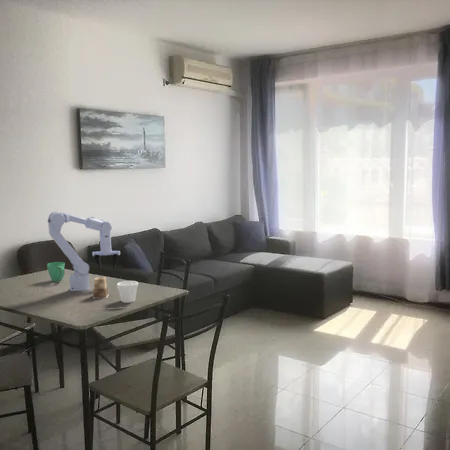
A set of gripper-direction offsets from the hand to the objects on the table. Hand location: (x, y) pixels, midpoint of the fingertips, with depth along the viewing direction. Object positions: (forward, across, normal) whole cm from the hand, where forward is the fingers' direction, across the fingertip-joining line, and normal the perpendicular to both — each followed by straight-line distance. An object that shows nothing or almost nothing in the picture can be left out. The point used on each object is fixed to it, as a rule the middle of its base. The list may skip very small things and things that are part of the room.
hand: (107, 268), depth 275 cm
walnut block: (+9, +1, -23) cm, 24 cm away
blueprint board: (+10, +4, -20) cm, 22 cm away
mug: (+10, -32, +16) cm, 37 cm away
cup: (+10, +16, -32) cm, 38 cm away
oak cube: (+5, +1, -22) cm, 23 cm away
